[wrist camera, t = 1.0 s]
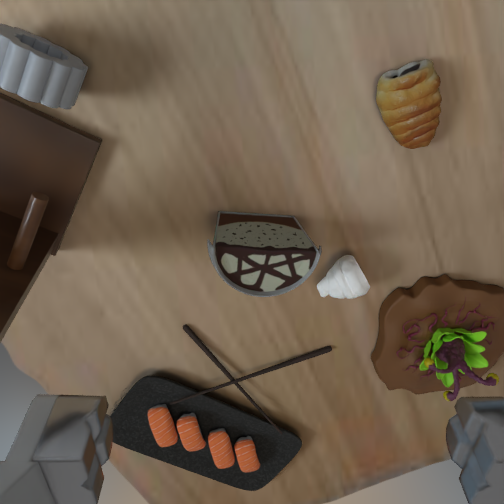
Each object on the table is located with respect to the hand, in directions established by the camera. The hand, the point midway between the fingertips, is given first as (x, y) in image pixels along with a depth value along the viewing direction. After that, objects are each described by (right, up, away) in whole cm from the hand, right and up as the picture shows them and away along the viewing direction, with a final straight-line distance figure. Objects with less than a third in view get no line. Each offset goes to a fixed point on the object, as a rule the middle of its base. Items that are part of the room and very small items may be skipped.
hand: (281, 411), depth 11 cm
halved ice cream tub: (0, +6, +49) cm, 49 cm away
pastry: (+17, +21, +43) cm, 50 cm away
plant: (+27, -8, +59) cm, 65 cm away
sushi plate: (-3, -18, +61) cm, 63 cm away
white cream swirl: (+10, +1, +52) cm, 53 cm away
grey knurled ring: (-21, +23, +37) cm, 48 cm away
